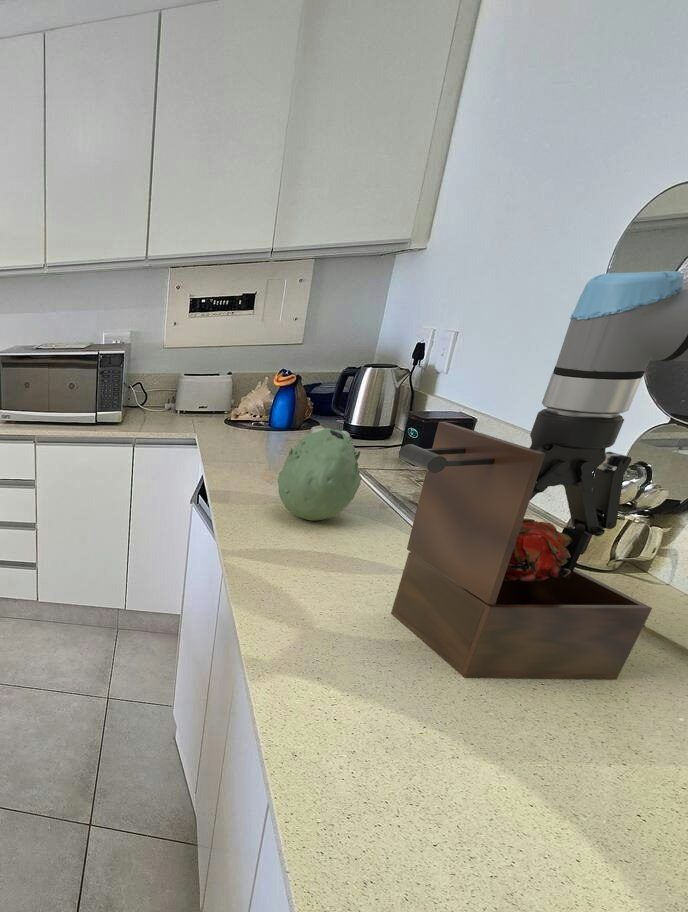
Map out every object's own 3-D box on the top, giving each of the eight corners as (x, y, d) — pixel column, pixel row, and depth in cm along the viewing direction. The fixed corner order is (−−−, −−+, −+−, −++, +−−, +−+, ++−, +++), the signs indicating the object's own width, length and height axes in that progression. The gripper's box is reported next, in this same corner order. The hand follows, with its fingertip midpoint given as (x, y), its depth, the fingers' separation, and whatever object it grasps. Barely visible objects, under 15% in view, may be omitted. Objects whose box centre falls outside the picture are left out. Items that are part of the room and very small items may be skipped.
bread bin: (516, 613, 90) (540, 551, 86) (616, 679, 75) (652, 608, 71) (390, 613, 92) (408, 552, 88) (464, 677, 77) (490, 607, 72)
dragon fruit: (523, 570, 84) (512, 613, 77) (472, 529, 86) (457, 567, 79) (590, 539, 77) (585, 582, 70) (533, 495, 79) (523, 532, 72)
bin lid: (445, 421, 80) (379, 425, 80) (545, 453, 64) (463, 457, 65) (412, 549, 87) (352, 551, 88) (495, 604, 72) (422, 605, 73)
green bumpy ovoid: (273, 528, 125) (289, 437, 117) (270, 500, 140) (284, 418, 132) (358, 537, 118) (381, 442, 111) (344, 507, 134) (364, 421, 126)
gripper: (649, 403, 73) (580, 562, 82) (462, 407, 74) (415, 562, 83) (715, 415, 66) (632, 588, 75) (508, 419, 68) (451, 587, 77)
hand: (518, 574), depth 79 cm, fingers closed on dragon fruit, 9 cm apart
